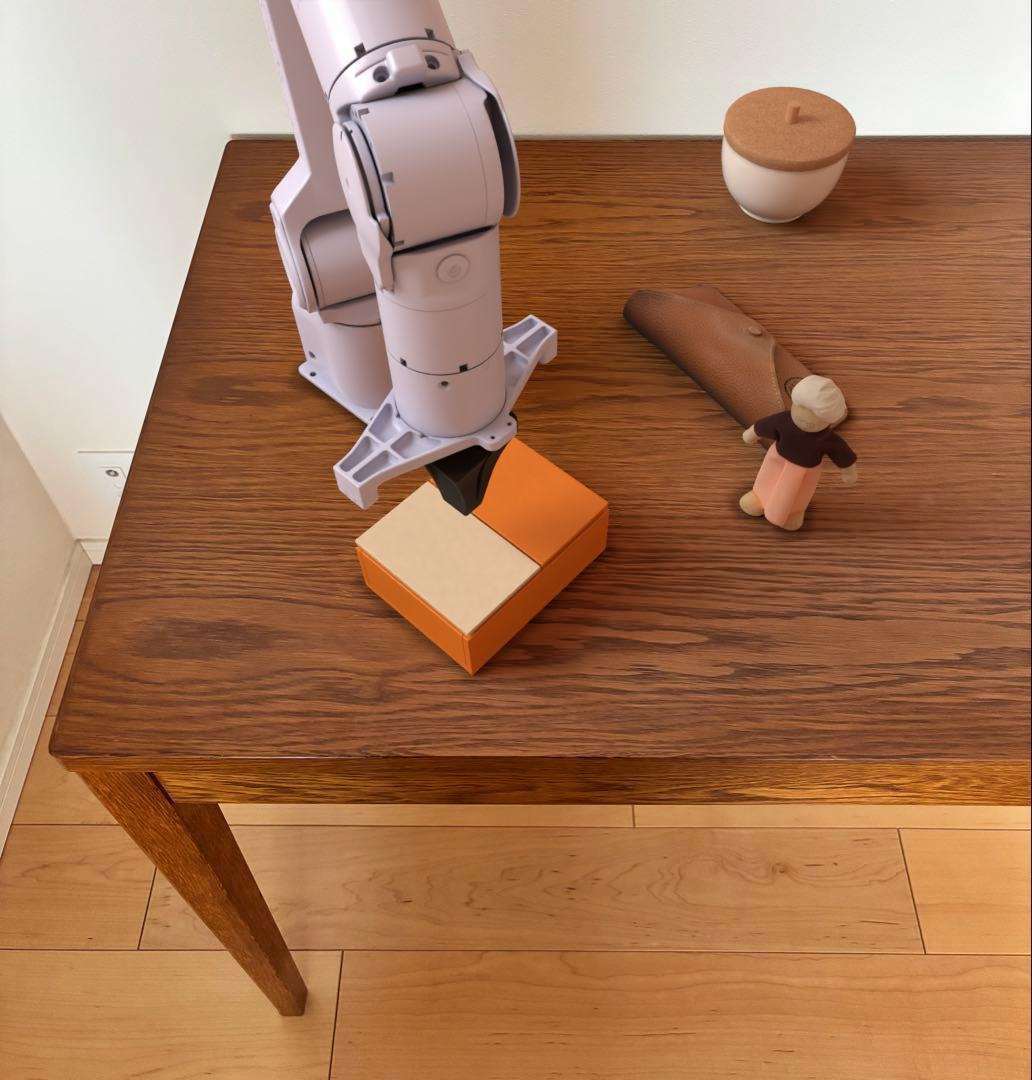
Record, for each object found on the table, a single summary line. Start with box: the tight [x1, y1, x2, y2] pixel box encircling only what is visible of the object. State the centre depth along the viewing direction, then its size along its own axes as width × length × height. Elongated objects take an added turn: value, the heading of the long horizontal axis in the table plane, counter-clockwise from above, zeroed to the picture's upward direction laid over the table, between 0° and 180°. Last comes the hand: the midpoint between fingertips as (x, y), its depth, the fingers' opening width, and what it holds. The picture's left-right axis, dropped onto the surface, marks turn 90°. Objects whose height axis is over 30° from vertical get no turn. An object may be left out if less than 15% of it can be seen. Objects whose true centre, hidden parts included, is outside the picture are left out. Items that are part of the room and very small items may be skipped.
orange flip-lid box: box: [355, 436, 610, 676], centre depth 64 cm, size 13×10×5 cm
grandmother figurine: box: [739, 374, 859, 531], centre depth 63 cm, size 8×4×13 cm, turn 70°
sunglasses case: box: [622, 283, 849, 452], centre depth 75 cm, size 18×7×7 cm
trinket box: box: [720, 86, 857, 224], centre depth 84 cm, size 11×11×9 cm
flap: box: [354, 480, 540, 636], centre depth 61 cm, size 6×10×1 cm, turn 47°
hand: (462, 501), depth 59 cm, fingers closed
